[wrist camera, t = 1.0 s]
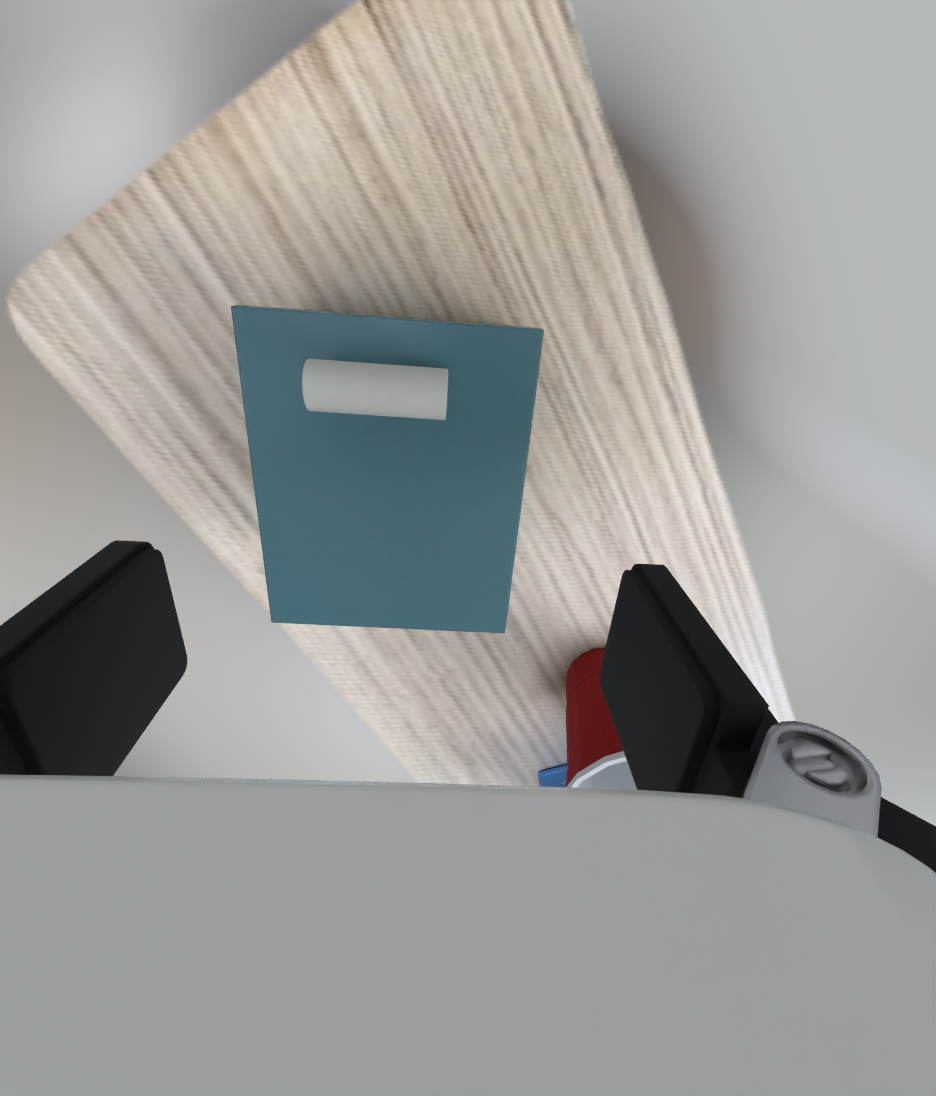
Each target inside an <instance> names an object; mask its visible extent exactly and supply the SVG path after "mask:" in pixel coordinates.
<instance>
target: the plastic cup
mask: <svg viewBox="0 0 936 1096" xmlns="http://www.w3.org/2000/svg"><path fill="white" fill-rule="evenodd" d="M604 652H605V648H597V649H595V650H592V651H589V652H586V653H584V654H582V655H581V656H580V657H579V658H577V659H576V660H575V661H574V662H573V663H572V665H571V667H570V668H569V670H568V672H567V678H566V701H567V706H566V733H567V779H566V787H569V788H593V789H620V790H637V788H636V785H635V782H634V779H633V776H632V774H631V771H630V768H629V765H628V762H627V760H626V757H625V754H624V751H623V748H622V746H621V743H620V740H619V737H618V734H617V732H616V729H615V726H614V723H613V720H612V718H611V715H610V712H609V709H608V706H607V704H606V701H605V698H604V695H603V692H602V690H601V686H600V669H601V665H602V661H603V657H604Z"/></svg>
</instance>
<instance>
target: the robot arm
mask: <svg viewBox="0 0 936 1096" xmlns="http://www.w3.org/2000/svg"><path fill="white" fill-rule="evenodd" d="M186 666H187V654H186V650H185V646H184V642H183V638H182V634H181V629H180V626H179V622H178V617H177V613H176V609H175V605H174V600H173V596H172V592H171V588H170V584H169V580H168V576H167V572H166V567H165V563H164V559H163V556H162V554H161V552H160V551H159V550H156V549H154V548H153V546H152V545H151V544H150V543H148V542H137V541H114V542H111V543H110V544H109V545H107V546H106V547H105V548H103V549H102V550H101V551H99V552H98V553H97V554H95V555H94V556H93V557H91V558H90V559H89V560H87V561H86V562H85V563H83V564H82V565H81V566H79V567H78V568H77V569H75V570H74V571H73V572H72V573H70V574H69V575H67V576H66V577H65V578H63V579H62V580H61V581H59V582H58V583H57V584H56V585H54V586H53V587H51V588H50V589H49V590H47V591H46V592H45V593H43V594H42V595H41V596H39V597H38V598H37V599H35V600H34V601H33V602H31V603H30V604H29V605H27V606H26V607H25V608H23V609H22V610H21V611H20V612H18V613H17V614H15V615H14V616H13V617H11V618H10V619H9V620H8V621H6V622H5V623H3V624H2V625H1V626H0V1096H936V826H934V825H932V824H930V823H928V822H926V821H924V820H923V819H921V818H919V817H917V816H915V815H913V814H911V813H910V812H908V811H906V810H904V809H902V808H900V807H898V806H897V805H895V804H893V803H891V802H889V801H887V800H885V799H884V798H882V797H881V783H880V778H879V775H878V773H877V772H876V770H875V768H874V766H873V765H872V763H871V762H870V761H869V760H868V759H867V758H866V757H865V756H864V755H863V754H862V753H861V752H860V751H859V750H858V749H857V748H855V747H854V746H853V745H851V744H850V743H849V742H847V741H846V740H845V739H843V738H841V737H839V736H837V735H835V734H834V733H832V732H830V731H828V730H825V729H823V728H820V727H818V726H815V725H812V724H808V723H802V722H797V721H786V722H780V723H778V721H777V720H776V719H775V717H774V716H773V715H772V713H771V712H770V711H769V709H768V706H769V705H768V704H767V703H766V701H765V700H764V699H763V697H762V696H761V695H760V693H759V692H758V690H757V689H756V688H755V686H754V685H753V684H752V682H751V681H750V680H749V678H748V677H747V676H746V674H745V673H744V672H743V670H742V669H741V668H740V666H739V665H738V663H737V662H736V661H735V659H734V658H733V657H732V655H731V654H730V653H729V651H728V650H727V649H726V647H725V646H724V645H723V643H722V642H721V640H720V639H719V638H718V636H717V635H716V634H715V632H714V631H713V630H712V628H711V627H710V626H709V624H708V623H707V622H706V620H705V619H704V618H703V616H702V615H701V613H700V612H699V611H698V609H697V608H696V607H695V605H694V604H693V603H692V601H691V600H690V599H689V597H688V596H687V595H686V593H685V592H684V590H683V589H682V588H681V586H680V585H679V584H678V582H677V581H676V580H675V578H674V577H673V576H672V574H671V573H670V572H669V570H668V569H667V567H665V566H664V565H653V564H635V565H634V566H633V567H632V569H631V570H626V571H624V573H623V575H622V579H621V583H620V587H619V592H618V596H617V600H616V605H615V609H614V613H613V618H612V622H611V626H610V631H609V635H608V639H607V644H606V648H605V652H604V657H603V661H602V665H601V669H600V686H601V690H602V692H603V695H604V698H605V701H606V704H607V706H608V709H609V712H610V715H611V718H612V720H613V723H614V726H615V729H616V732H617V734H618V737H619V740H620V743H621V746H622V748H623V751H624V754H625V757H626V760H627V762H628V765H629V768H630V771H631V774H632V776H633V779H634V782H635V785H636V788H637V790H620V789H593V788H569V787H535V786H502V785H468V784H435V783H396V782H357V781H355V782H354V781H317V780H316V781H315V780H273V779H230V778H229V779H228V778H226V779H225V778H176V777H121V776H113V775H114V773H115V772H116V771H117V769H118V768H119V766H120V765H121V763H122V762H123V761H124V759H125V758H126V756H127V755H128V753H129V752H130V751H131V749H132V748H133V746H134V745H135V743H136V742H137V740H138V739H139V737H140V736H141V735H142V733H143V732H144V731H145V729H146V727H147V726H148V725H149V723H150V722H151V720H152V719H153V718H154V716H155V715H156V713H157V712H158V710H159V709H160V708H161V706H162V705H163V703H164V702H165V700H166V699H167V698H168V696H169V695H170V693H171V692H172V690H173V689H174V688H175V686H176V685H177V683H178V682H179V680H180V679H181V677H182V676H183V674H184V672H185V670H186Z"/></svg>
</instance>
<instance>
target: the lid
mask: <svg viewBox="0 0 936 1096" xmlns="http://www.w3.org/2000/svg"><path fill="white" fill-rule="evenodd" d="M231 310H232V318H233V326H234V334H235V341H236V349H237V357H238V365H239V372H240V380H241V388H242V396H243V404H244V411H245V419H246V427H247V435H248V443H249V450H250V458H251V466H252V474H253V482H254V489H255V497H256V505H257V513H258V521H259V528H260V536H261V544H262V552H263V560H264V567H265V575H266V583H267V591H268V599H269V606H270V614H271V622H274V623H295V624H316V625H338V626H359V627H380V628H402V629H423V630H445V631H466V632H488V633H505V628H506V620H507V613H508V605H509V597H510V589H511V582H512V574H513V566H514V558H515V551H516V543H517V535H518V527H519V520H520V512H521V504H522V496H523V489H524V481H525V473H526V465H527V458H528V450H529V442H530V434H531V427H532V419H533V411H534V403H535V396H536V388H537V380H538V372H539V364H540V357H541V349H542V341H543V333H544V330H543V329H541V328H532V327H519V326H506V325H493V324H480V323H467V322H454V321H441V320H428V319H415V318H402V317H389V316H376V315H363V314H350V313H336V312H323V311H310V310H297V309H284V308H271V307H258V306H245V305H234V306H231Z"/></svg>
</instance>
